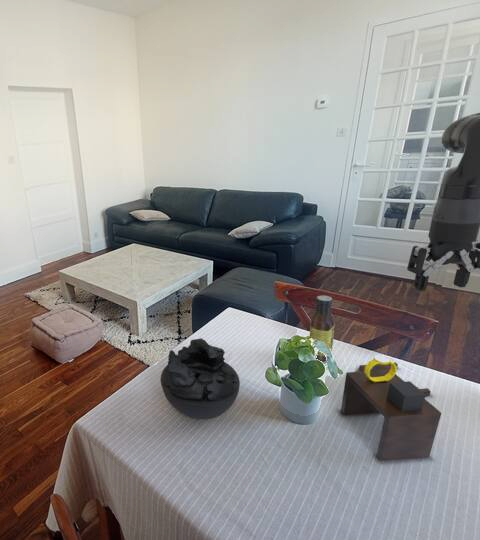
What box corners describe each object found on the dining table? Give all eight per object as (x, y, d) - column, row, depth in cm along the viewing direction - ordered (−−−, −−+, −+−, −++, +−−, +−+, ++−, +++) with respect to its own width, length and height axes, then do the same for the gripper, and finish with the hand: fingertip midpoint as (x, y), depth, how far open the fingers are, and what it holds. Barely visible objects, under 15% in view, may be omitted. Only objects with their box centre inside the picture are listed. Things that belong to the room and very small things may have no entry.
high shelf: (381, 408, 84) (389, 368, 80) (429, 457, 71) (441, 413, 67) (340, 411, 84) (346, 372, 80) (380, 461, 71) (389, 416, 67)
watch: (388, 375, 78) (392, 353, 76) (396, 383, 75) (401, 361, 73) (360, 376, 78) (364, 355, 76) (368, 384, 76) (372, 362, 74)
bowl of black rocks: (243, 391, 95) (244, 333, 88) (234, 447, 78) (234, 381, 72) (174, 377, 103) (170, 324, 97) (152, 426, 87) (146, 365, 80)
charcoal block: (406, 396, 71) (409, 381, 70) (421, 410, 68) (425, 394, 66) (386, 398, 72) (389, 382, 70) (401, 412, 68) (404, 396, 66)
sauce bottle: (334, 361, 102) (342, 303, 95) (312, 361, 103) (318, 303, 96) (325, 349, 108) (332, 293, 101) (304, 349, 109) (309, 294, 102)
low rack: (394, 366, 97) (395, 362, 97) (429, 395, 86) (431, 390, 85) (358, 369, 98) (359, 365, 97) (389, 398, 86) (390, 394, 86)
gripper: (436, 225, 68) (420, 298, 73) (510, 217, 67) (489, 291, 73) (407, 217, 75) (394, 284, 80) (474, 210, 74) (457, 278, 80)
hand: (439, 287), depth 77 cm, fingers open, 8 cm apart
